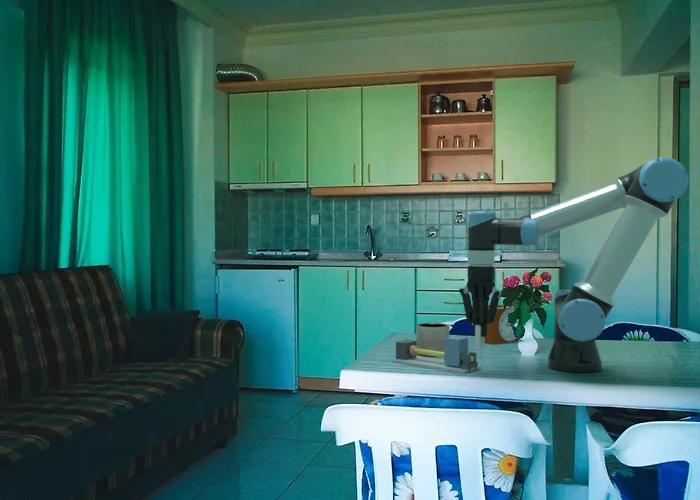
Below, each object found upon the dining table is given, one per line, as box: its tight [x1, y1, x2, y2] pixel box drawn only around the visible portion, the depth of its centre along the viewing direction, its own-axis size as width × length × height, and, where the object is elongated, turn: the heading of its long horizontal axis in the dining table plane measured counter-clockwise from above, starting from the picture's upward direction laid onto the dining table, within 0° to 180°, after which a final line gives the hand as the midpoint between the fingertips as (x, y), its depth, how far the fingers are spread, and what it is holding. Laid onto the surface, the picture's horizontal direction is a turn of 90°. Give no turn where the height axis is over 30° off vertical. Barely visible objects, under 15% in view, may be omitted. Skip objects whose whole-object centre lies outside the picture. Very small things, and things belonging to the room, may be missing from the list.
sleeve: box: [443, 335, 469, 367], centre depth 193 cm, size 5×5×8 cm
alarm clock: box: [484, 303, 519, 345], centre depth 241 cm, size 15×8×14 cm, turn 123°
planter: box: [415, 322, 450, 358], centre depth 217 cm, size 11×11×10 cm
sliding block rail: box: [392, 339, 482, 374], centre depth 198 cm, size 25×10×6 cm, turn 50°
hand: (479, 347), depth 188 cm, fingers closed
